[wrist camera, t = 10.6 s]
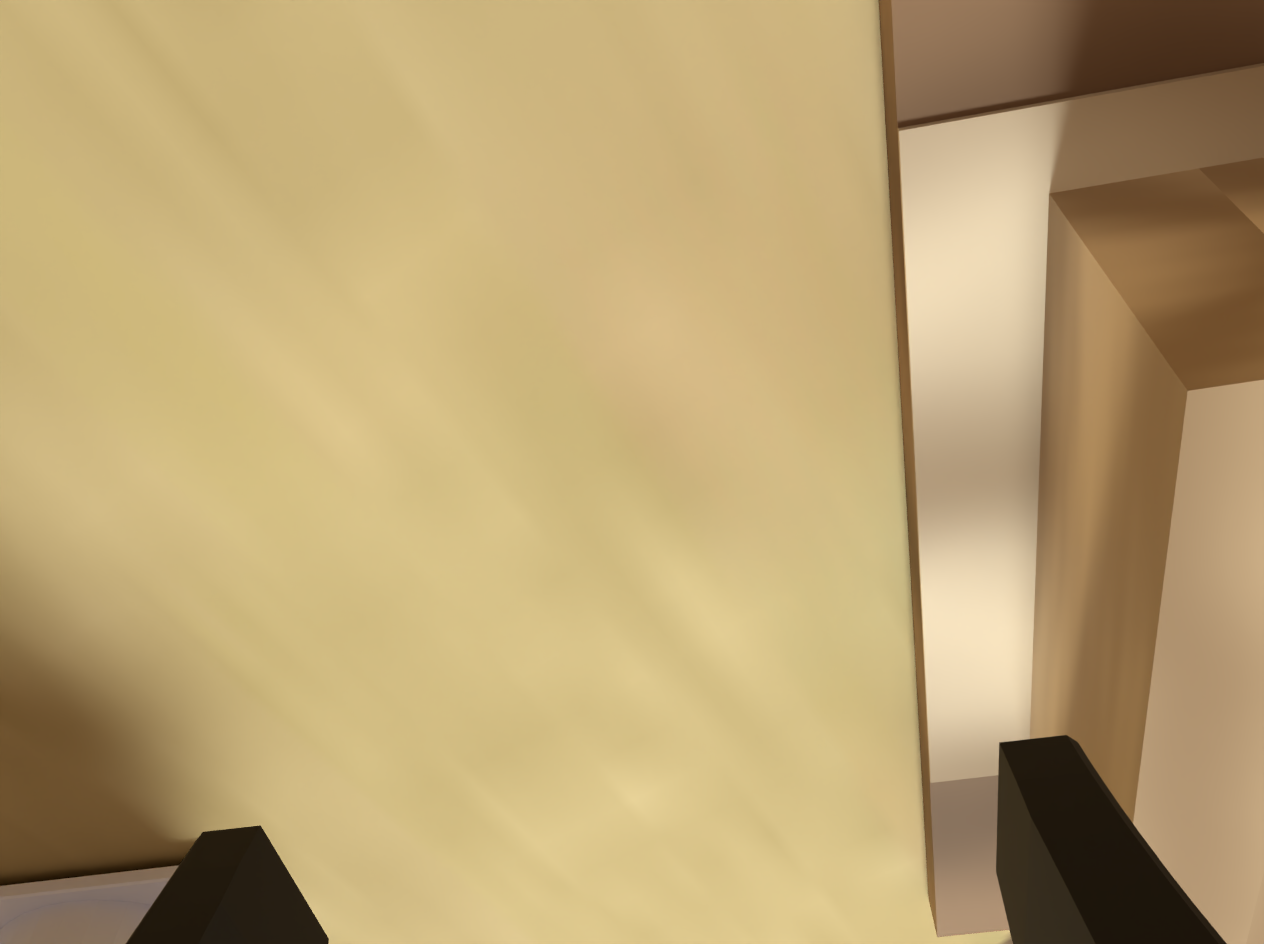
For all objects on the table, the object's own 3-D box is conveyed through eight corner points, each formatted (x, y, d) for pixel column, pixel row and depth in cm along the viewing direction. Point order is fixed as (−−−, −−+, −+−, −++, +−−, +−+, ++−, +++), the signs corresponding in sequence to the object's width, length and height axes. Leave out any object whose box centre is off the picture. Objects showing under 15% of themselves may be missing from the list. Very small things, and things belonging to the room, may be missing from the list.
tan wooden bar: (1352, 142, 16) (1601, 330, 12) (1227, 775, 24) (1347, 1014, 20) (1049, 193, 16) (1187, 391, 12) (1027, 798, 24) (1106, 1036, 20)
